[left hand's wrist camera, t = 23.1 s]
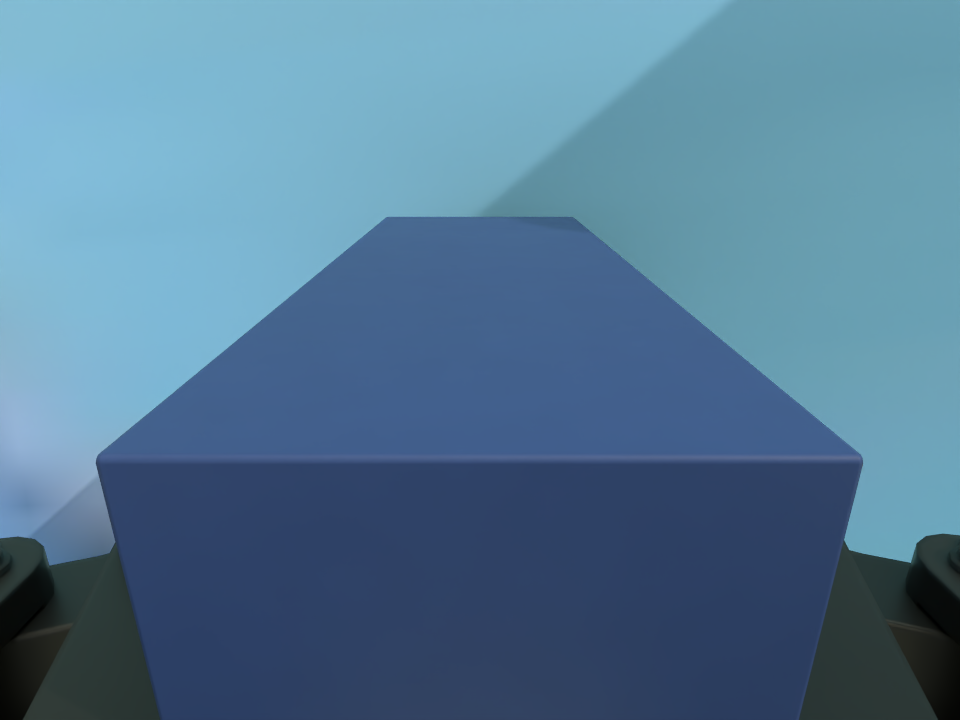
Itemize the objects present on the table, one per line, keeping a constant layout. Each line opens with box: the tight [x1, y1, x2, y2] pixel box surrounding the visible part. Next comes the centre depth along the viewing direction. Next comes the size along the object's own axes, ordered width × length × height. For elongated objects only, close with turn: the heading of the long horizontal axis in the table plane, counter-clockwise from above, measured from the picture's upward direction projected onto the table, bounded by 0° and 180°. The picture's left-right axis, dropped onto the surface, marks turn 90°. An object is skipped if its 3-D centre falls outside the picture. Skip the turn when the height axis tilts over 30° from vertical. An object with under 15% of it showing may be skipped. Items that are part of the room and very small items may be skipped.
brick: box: [96, 217, 863, 720], centre depth 11 cm, size 8×5×12 cm, turn 0°
